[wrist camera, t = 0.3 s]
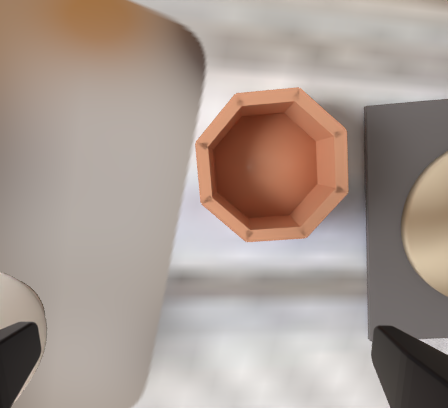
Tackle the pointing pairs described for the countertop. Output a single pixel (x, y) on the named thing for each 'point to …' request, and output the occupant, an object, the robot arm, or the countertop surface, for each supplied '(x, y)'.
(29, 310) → the lidded jar
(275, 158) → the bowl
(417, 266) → the disc with tall peg
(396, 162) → the mat
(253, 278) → the countertop surface
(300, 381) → the countertop surface
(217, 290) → the countertop surface
